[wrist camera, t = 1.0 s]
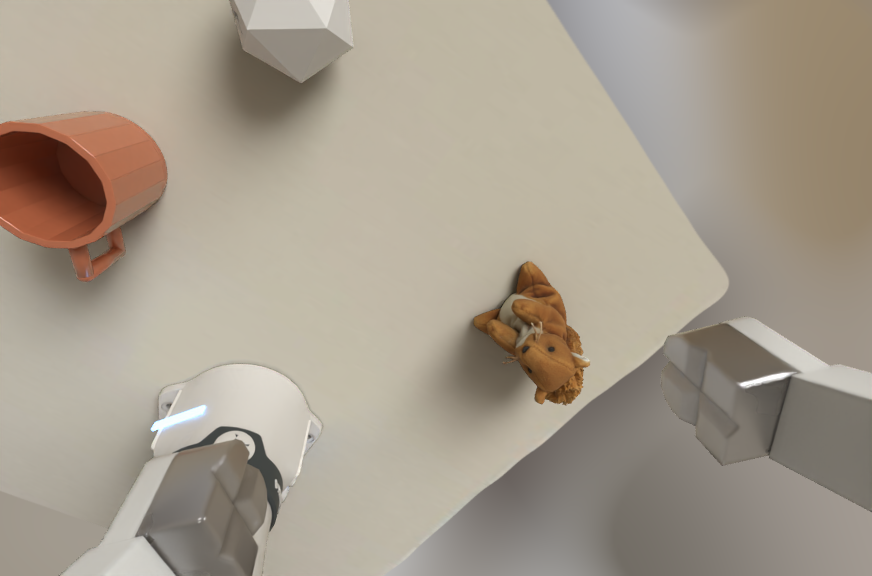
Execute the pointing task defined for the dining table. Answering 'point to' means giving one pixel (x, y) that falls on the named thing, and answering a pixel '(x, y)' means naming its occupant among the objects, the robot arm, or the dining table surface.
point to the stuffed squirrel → (538, 337)
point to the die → (294, 33)
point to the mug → (77, 182)
